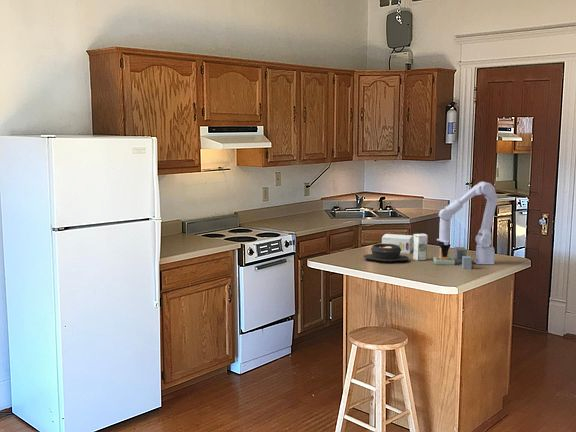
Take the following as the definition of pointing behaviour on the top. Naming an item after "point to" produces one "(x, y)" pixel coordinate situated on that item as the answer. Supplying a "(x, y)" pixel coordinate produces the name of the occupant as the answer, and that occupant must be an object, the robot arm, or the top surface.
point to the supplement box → (399, 241)
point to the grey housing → (459, 254)
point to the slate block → (466, 262)
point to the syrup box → (420, 247)
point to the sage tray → (443, 261)
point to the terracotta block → (442, 256)
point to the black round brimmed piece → (386, 253)
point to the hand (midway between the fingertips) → (443, 255)
